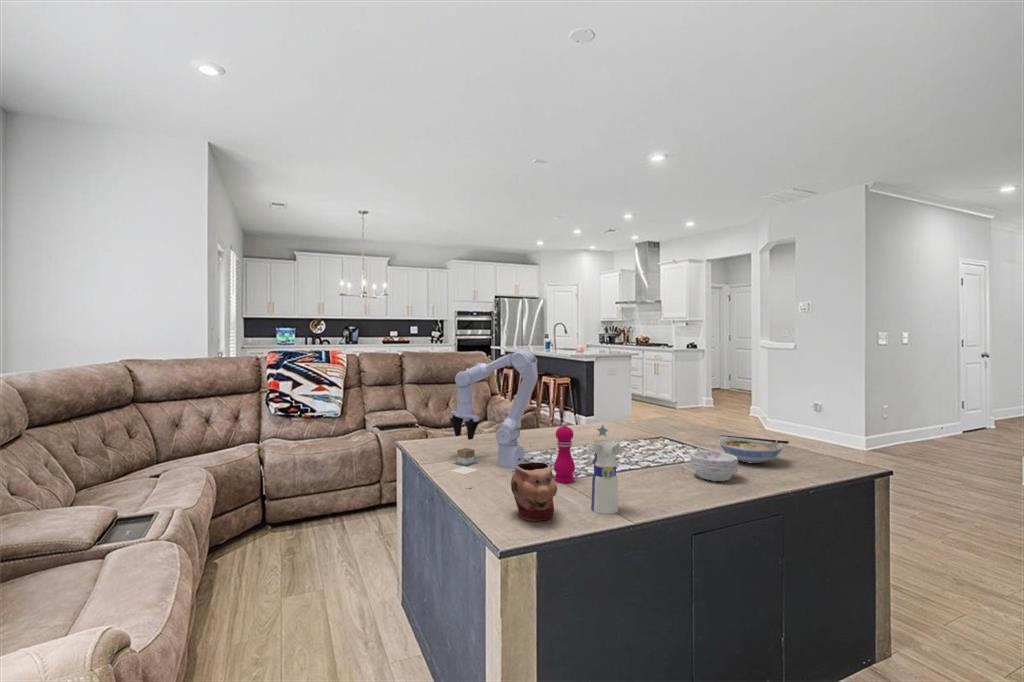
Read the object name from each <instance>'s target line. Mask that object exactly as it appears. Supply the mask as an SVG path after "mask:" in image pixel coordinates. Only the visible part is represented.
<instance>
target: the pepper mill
mask: <svg viewBox="0 0 1024 682" xmlns="http://www.w3.org/2000/svg"><path fill="white" fill-rule="evenodd" d="M573 437H574V431H573V429H572V428H571V427H570V426H568V423H567V422H566V421H564V422H562V423H561V426H560V427H558V428H557V429H556V432H555V438H556V439H557V441H556V443H557V444H556V445H557V446H558V451H557V452H558V453H557V457H556V459H555V461H554V462H553V463H554V464H553V470H554V473H556V474H555V475H554V480H555V482H556V481H557V483H560V484H570V483H573V482H574V479H575V478H574V474H573V473H574V472H575V471H576V464H575V462H574V460H573V456H572V454H571V447H572V445H573V444H572V443H573V441H572V440H573Z"/></svg>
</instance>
